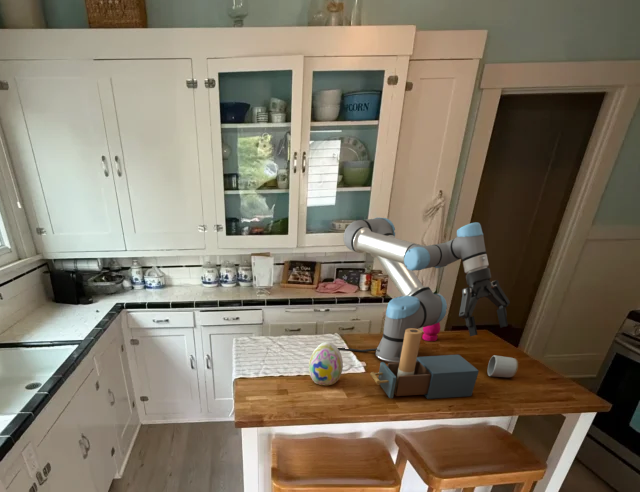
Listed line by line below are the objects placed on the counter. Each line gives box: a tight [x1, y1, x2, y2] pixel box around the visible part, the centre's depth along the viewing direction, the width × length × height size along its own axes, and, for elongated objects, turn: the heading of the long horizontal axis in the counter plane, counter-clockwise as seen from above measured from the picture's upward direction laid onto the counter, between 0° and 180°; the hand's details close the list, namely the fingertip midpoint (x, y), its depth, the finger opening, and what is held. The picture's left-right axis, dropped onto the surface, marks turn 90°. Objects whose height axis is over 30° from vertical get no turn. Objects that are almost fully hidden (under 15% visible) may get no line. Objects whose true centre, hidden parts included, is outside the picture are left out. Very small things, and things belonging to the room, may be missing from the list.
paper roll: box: [396, 328, 423, 387], centre depth 143 cm, size 5×5×20 cm
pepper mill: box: [421, 293, 442, 342], centre depth 184 cm, size 7×7×20 cm
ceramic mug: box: [487, 354, 519, 378], centre depth 157 cm, size 11×8×8 cm
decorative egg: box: [308, 341, 344, 387], centre depth 154 cm, size 12×12×15 cm
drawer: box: [369, 361, 432, 399], centre depth 147 cm, size 19×12×8 cm, turn 95°
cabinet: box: [416, 354, 479, 400], centre depth 148 cm, size 16×14×10 cm
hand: (489, 331), depth 150 cm, fingers open, 13 cm apart
